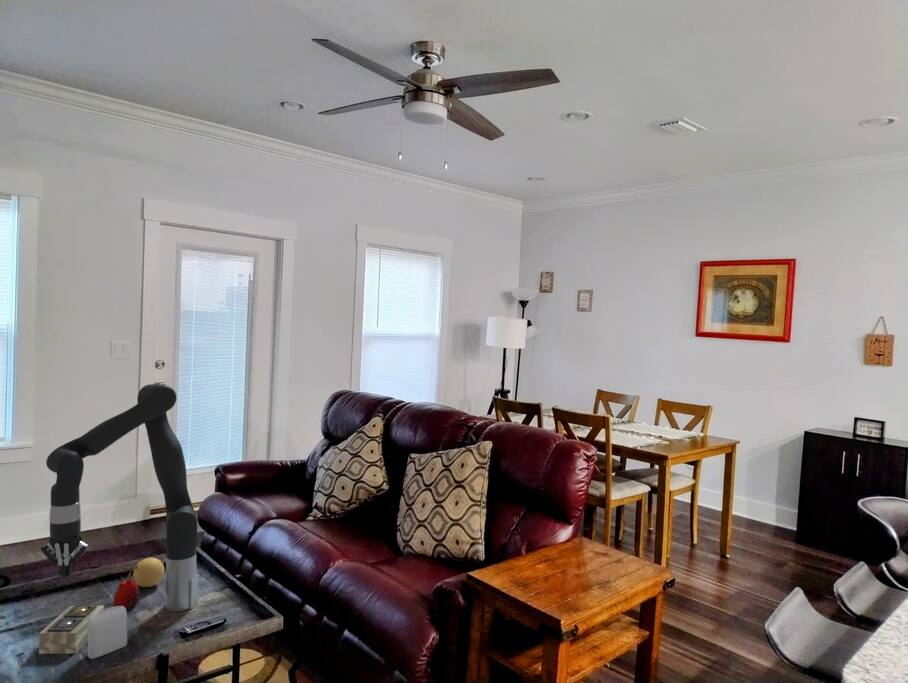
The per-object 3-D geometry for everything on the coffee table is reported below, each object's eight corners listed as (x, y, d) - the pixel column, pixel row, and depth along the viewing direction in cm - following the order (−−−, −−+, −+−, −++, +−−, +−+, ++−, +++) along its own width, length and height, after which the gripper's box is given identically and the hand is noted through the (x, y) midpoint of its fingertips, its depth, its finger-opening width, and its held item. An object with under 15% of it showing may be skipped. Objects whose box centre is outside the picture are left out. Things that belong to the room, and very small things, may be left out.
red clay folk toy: (130, 599, 204) (131, 556, 204) (144, 604, 201) (144, 561, 200) (109, 609, 198) (109, 564, 197) (122, 614, 194) (122, 569, 194)
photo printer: (90, 661, 169) (90, 618, 168) (85, 655, 172) (85, 613, 171) (129, 646, 177) (129, 605, 176) (123, 640, 180) (123, 600, 179)
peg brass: (89, 625, 186) (89, 606, 186) (83, 631, 182) (83, 612, 182) (77, 625, 186) (77, 606, 185) (70, 631, 182) (70, 612, 182)
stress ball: (163, 591, 213) (173, 564, 220) (149, 578, 207) (160, 551, 214) (138, 593, 214) (148, 566, 222) (122, 580, 208) (134, 553, 215)
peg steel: (75, 639, 178) (75, 619, 178) (68, 646, 174) (68, 626, 174) (62, 639, 178) (62, 619, 177) (55, 646, 174) (55, 626, 174)
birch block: (103, 624, 188) (103, 603, 188) (75, 653, 172) (75, 631, 172) (70, 624, 188) (70, 603, 187) (39, 653, 172) (39, 631, 171)
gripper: (95, 513, 178) (96, 570, 179) (49, 513, 177) (49, 571, 178) (82, 522, 171) (82, 582, 172) (33, 522, 170) (33, 582, 171)
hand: (65, 576), depth 175 cm, fingers closed
